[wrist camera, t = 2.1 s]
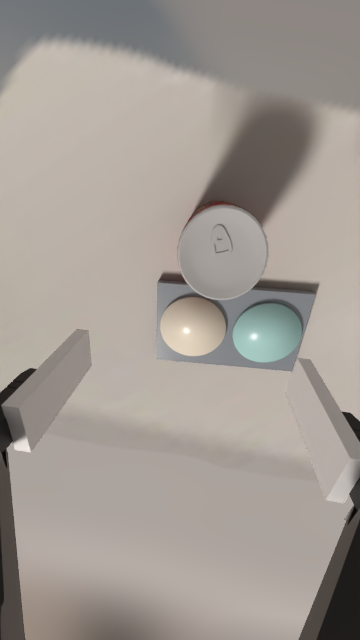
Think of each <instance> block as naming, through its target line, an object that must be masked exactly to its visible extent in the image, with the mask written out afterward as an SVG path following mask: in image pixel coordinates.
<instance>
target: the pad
mask: <svg viewBox="0 0 360 640" xmlns="http://www.w3.org/2000/svg"><path fill="white" fill-rule="evenodd" d="M301 335H302V326H301V322H300V320H299V318H298V317H297V315H296V314H295V313H294V312H293V311H292V310H291V309H290V308H288V307H287V306H285V305H282V304H279V303H273V302H267V303H260V304H257V305H254V306H252V307H250V308H248V309H247V310H245V311H244V312H243V313H242V314H241V315H240V316H239V317H238V318H237V320H236V322H235V324H234V326H233V332H232V337H233V342H234V345H235V347H236V349H237V350H238V352H239V353H240V354H241V355H242V356H244V357H245V358H247V359H249V360H252V361H255V362H273V361H276V360H279V359H282V358H284V357H285V356H287V355H288V354H290V353H291V352H292V351H293V350H294V349H295V348H296V346H297V345H298V343H299V341H300V339H301Z"/></svg>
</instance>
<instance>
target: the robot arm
mask: <svg viewBox="0 0 360 640" xmlns="http://www.w3.org/2000/svg"><path fill="white" fill-rule="evenodd" d="M91 366H92V364H91V353H90V341H89V331H88V330H81V329H76V331H75V332H74V333H73V334H72V335H71V336H70V337H69V338H68V339H67V340H66V341H65V342H64V343H63V344H62V345H61V346H60V347H59V348H58V349H57V350H56V351H55V352H54V353H53V354H52V355H51V356H50V357H49V358H48V359H47V360H46V361H45V362H44V363H43V364H42V365H41V366H40V367H39V368H38V369H33V368H30V369H28V370H26V371H24V372H23V373H21V374H20V375H19V376H17V377H16V378H15V379H14V380H13V382H11V383H10V384H9V385H8V386H7V388H5V389H4V390H3V391H2V392H1V393H0V640H25V634H24V624H23V613H22V603H21V592H20V581H19V570H18V560H17V548H16V538H15V527H14V516H13V505H12V496H11V484H10V473H9V463H8V452H7V449H6V448H7V447H8V446H9V445H10V443H11V442H13V445H14V448H15V450H19V451H26V452H32V450H33V449H34V447H35V446H36V444H37V443H38V442H39V440H40V439H41V437H42V436H43V434H44V433H45V432H46V430H47V429H48V427H49V426H50V424H51V423H52V422H53V420H54V419H55V417H56V416H57V414H58V413H59V412H60V410H61V409H62V407H63V406H64V404H65V403H66V401H67V400H68V399H69V397H70V396H71V394H72V393H73V391H74V390H75V389H76V387H77V386H78V384H79V383H80V381H81V380H82V379H83V377H84V376H85V374H86V373H87V371H88V370H89V368H90V367H91ZM285 393H286V396H287V398H288V401H289V404H290V406H291V409H292V412H293V414H294V417H295V420H296V422H297V425H298V428H299V431H300V433H301V436H302V439H303V441H304V444H305V447H306V449H307V452H308V455H309V457H310V460H311V463H312V465H313V468H314V471H315V473H316V476H317V479H318V482H319V484H320V487H321V490H322V492H323V495H324V498H325V500H327V501H333V502H340V503H344V502H345V501H346V499H347V498H348V496H349V495H350V497H351V499H352V501H353V503H354V506H353V507H352V509H351V510H350V512H349V513H348V515H347V516H346V517H345V520H346V523H345V526H344V528H343V531H342V533H341V536H340V538H339V541H338V543H337V546H336V548H335V551H334V553H333V556H332V558H331V561H330V563H329V566H328V568H327V571H326V573H325V575H324V578H323V580H322V583H321V586H320V588H319V590H318V593H317V596H316V598H315V601H314V603H313V605H312V608H311V610H310V613H309V615H308V618H307V620H306V623H305V625H304V628H303V630H302V633H301V635H300V638H299V640H360V421H359V420H358V419H356V418H355V417H354V416H353V415H352V414H351V413H347V412H341V410H340V408H339V407H338V405H337V403H336V402H335V400H334V398H333V397H332V395H331V393H330V392H329V390H328V388H327V387H326V385H325V383H324V382H323V380H322V378H321V377H320V375H319V373H318V372H317V370H316V368H315V366H314V365H313V363H312V361H311V360H310V359H302V358H297V361H296V364H295V366H294V369H293V372H292V375H291V378H290V381H289V383H288V386H287V389H286V392H285Z"/></svg>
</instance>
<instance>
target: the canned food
mask: <svg viewBox="0 0 360 640" xmlns="http://www.w3.org/2000/svg"><path fill="white" fill-rule="evenodd" d="M177 257H178V264H179V268H180V271H181V274H182V276H183V278H184V279H185V281H186V283H187V284H188V285H189V286H190V287H191V288H192V289H193V290H194V291H196V292H197V293H198V294H200V295H202V296H204V297H206V298H210V299H213V300H229V299H233V298H236V297H239V296H241V295H243V294H245V293H246V292H248V291H249V290H250V289H252V288H253V287H254V286H255V285H256V283H257V282H258V281H259V280H260V278H261V276H262V275H263V273H264V270H265V268H266V265H267V260H268V242H267V237H266V235H265V232H264V230H263V228H262V226H261V225H260V223H259V222H258V220H257V219H256V218H255V217H254V216H253V215H252V214H251V213H249V212H248V211H246V210H244V209H243V208H241V207H239V206H236V205H233V204H231V203H227V202H224V201H213V202H209V203H206V204H204V205H202V206H201V207H199V208H198V209H197V210H196V211H195V212H194V213H193V214H192V216H191V217H190V219H189V220H188V222H187V224H186V225H185V227H184V229H183V231H182V234H181V236H180V239H179V244H178V254H177Z"/></svg>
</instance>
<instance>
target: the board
mask: <svg viewBox="0 0 360 640" xmlns="http://www.w3.org/2000/svg"><path fill="white" fill-rule="evenodd" d="M315 295H316V294H315V293H314V292H312V291H303V290H289V289H275V288H262V287H253V288H252V289H250V290H249V291H248V292H246V293H245V294H243V295H241V296H239V297H236V298H233V299H229V300H213V299H210V298H206V297H204V296H202V295H200V294H198V293H197V292H196V291H194V290H193V289H192V288H191V287H190V286H189V285H188V284H187V283H186V282H180V281H167V280H159V281H158V285H157V359H161V360H172V361H183V362H194V363H205V364H216V365H228V366H239V367H250V368H261V369H272V370H283V371H292V370H293V367H294V364H295V361H296V357H297V354H298V351H299V348H300V344H301V341H302V338H303V334H304V331H305V328H306V325H307V321H308V318H309V315H310V312H311V308H312V305H313V302H314V299H315ZM267 302H273V303H279V304H282V305H285V306H287V307H288V308H290V309H291V310H292V311H293V312H294V313H295V314H296V315H297V317H298V318H299V320H300V322H301V326H302V335H301V339H300V341H299V343H298V345H297V346H296V348H295V349H294V350H293V351H292V352H291V353H290V354H288V355H287V356H285V357H284V358H282V359H279V360H276V361H273V362H255V361H252V360H249V359H247V358H245V357H244V356H242V355H241V354H240V353H239V352H238V350H237V349H236V347H235V345H234V342H233V337H232V332H233V326H234V324H235V322H236V320H237V318H238V317H239V316H240V315H241V314H242V313H243V312H244V311H245V310H247V309H248V308H250V307H252V306H254V305H257V304H260V303H267Z"/></svg>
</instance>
